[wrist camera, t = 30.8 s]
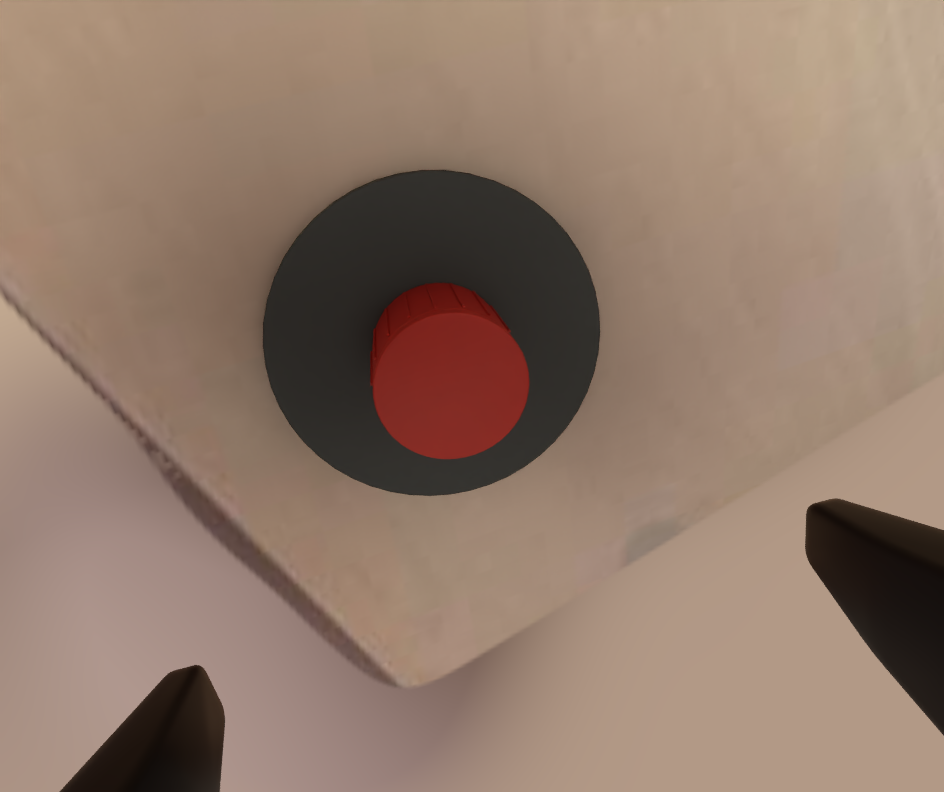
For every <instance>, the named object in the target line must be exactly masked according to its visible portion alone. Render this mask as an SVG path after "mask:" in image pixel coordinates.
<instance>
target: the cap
mask: <svg viewBox="0 0 944 792" xmlns="http://www.w3.org/2000/svg"><path fill="white" fill-rule="evenodd" d="M510 332H511V331H510V329H509V328H508V327H507V325H506V324H505V323H504V321H503V320H502V319H501V317H500V316H499V315H498V313H497V312H496V311H495V309H494V308H493V307H492V305H490V306H489V305H488V304H487V303H486V302H485V300H484V299H482V298H481V297H480V296H479V295H477V294H476V292H475V291H473V290H472V291H471V290H469V289H466V288H464V287H462V286H458V285H454V284H452V283H450V284H449V283H430V284H428V283H427V284H425V285H421V286H417V287H415V288H412V289H410V290H408V291H406V292H403V293H402V294H401V295H400V296H399V297H397V298H396V299H395V300H394V301H393V302H392V303H391V304H390V305H389V306H388V307H387V308H385V309H384V312H383V314H382V315H381V317H380V319H379V321H378V323H377V326H376V328H374V330H373V344H372V351H371V352H370V386H373V399H374V404H375V408H376V411H377V414H378V416H379V418H380V420H381V422H382V424H383V425H384V427H385V428H386V430H387V431H388V432H389V433H390V435H391V436H392V437H393V438H394V439H395V440H397V441H398V442H399V443H400V444H401V445H403V446H405V447H406V448H408V449H409V450H411V451H413V452H416V453H418V454H421V455H424V456H427V457H431V458H437V459H458V458H464V457H468V456H472V455H475V454H478V453H480V452H483V451H485V450H487V449H488V448H490V447H492V446H494V445H495V444H496V443H498V442H499V441H501V440H502V439H503V438H504V437H505V436H506V435H507V434H508V433H509V432H510V431H511V430H512V428H513V427H514V426H515V424H516V423H517V421H518V420H519V418H520V416H521V414H522V412H523V410H524V407H525V405H526V402H527V397H528V392H529V372H528V367H527V363H526V360H525V357H524V355H523V352H522V350H521V349H520V347H519V345H518V344H517V343H516V341H515V340H514V338H513V337H512V336H511V334H510Z"/></svg>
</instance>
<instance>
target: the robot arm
mask: <svg viewBox="0 0 944 792" xmlns="http://www.w3.org/2000/svg"><path fill="white" fill-rule="evenodd" d="M805 543H806V544H805V549H806V555H807V558H808V561H809V563H810V564H811V566H812V568H813V569H814V570H815V572H816V573H817V575H818V576H819V578H820V579H821V580H822V582H823V583H824V585H825V586H826V587H827V589H828V590H829V592H830V593H831V594H832V596H833V597H834V599H835V600H836V602H837V603H838V605H839V606H840V607H841V609H842V610H843V612H844V613H845V614H846V616H847V617H848V619H849V620H850V622H851V623H852V624H853V626H854V627H855V629H856V630H857V631H858V633H859V634H860V636H861V637H862V639H863V640H864V641H865V643H866V644H867V645H868V646H869V648H870V649H871V651H872V652H873V653H874V654H875V656H876V657H877V658H878V659H879V660H880V662H881V663H882V664H883V665H884V667H885V668H886V669H887V670H888V671H889V672H890V674H891V675H892V676H893V677H894V678H895V679H896V680H897V682H898V683H899V684H900V685H901V686H902V688H903V689H904V690H905V691H906V692H907V693H908V694H909V696H910V697H911V698H912V699H913V700H914V701H915V703H916V704H917V705H918V706H919V707H920V708H921V710H922V711H923V712H924V713H925V714H926V715H927V717H928V718H929V719H930V720H931V721H932V722H933V724H934V725H935V726H936V727H937V728H938V729H939V730H940V732H941V733H942V734H943V735H944V530H941V529H937V528H934V527H930V526H928V525H924V524H921V523H918V522H914V521H911V520H907V519H904V518H901V517H898V516H894V515H891V514H888V513H884V512H881V511H878V510H874V509H871V508H868V507H864V506H861V505H858V504H854V503H851V502H848V501H845V500H841V499H829V500H826V501H822V502H818V503H814V504H812V505H811V506H809V507H808V509H807V514H806V541H805ZM224 727H225V716H224V709H223V706H222V703H221V701H220V699H219V697H218V696H217V693H216V691H215V689H214V687H213V685H212V683H211V681H210V679H209V677H208V675H207V673H206V671H205V670H204V668H203V667H201V666H199V665H194V666H190V667H187V668H182V669H178V670H175V671H172V672H170V673H169V674H168V675H166V676H165V677H164V678H163V679H162V680H161V682H160V683H159V684H158V685H157V686H156V687H155V688H154V689H153V690H152V691H151V693H150V694H149V695H148V696H147V697H146V698H145V699H144V700H143V701H142V702H141V703H140V705H139V706H138V707H137V708H136V709H135V710H134V711H133V712H132V713H131V714H130V715H129V717H128V718H127V719H126V720H125V721H124V722H123V723H122V724H121V725H120V726H119V728H118V729H117V730H116V731H115V732H114V733H113V734H112V735H111V736H110V737H109V738H108V739H107V741H106V742H105V743H104V744H103V745H102V746H101V747H100V748H99V749H98V751H96V753H95V754H94V755H93V756H92V757H91V758H90V759H89V760H88V761H87V762H86V764H85V765H84V766H83V767H82V768H81V769H80V770H79V771H78V772H77V773H76V774H75V775H74V777H73V778H72V779H71V780H70V781H69V782H68V783H67V784H66V785H65V787H63V789H62V790H61V791H60V792H220V780H221V766H222V754H223V741H224Z"/></svg>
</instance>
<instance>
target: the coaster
mask: <svg viewBox="0 0 944 792" xmlns="http://www.w3.org/2000/svg"><path fill="white" fill-rule="evenodd" d="M427 283H428V284H430V283H449V284H450V283H452V284H454V285H458V286H462V287H464V288H466V289H469V290H471V291H472V290H473V291H475V292H476V294H477V295H479V296H480V297H481V298H482V299H484V300H485V302H486V303H487V304H488V305H489V306H490V305H492V307H493V308H494V309H495V311H496V312H497V313H498V315H499V316H500V317H501V319H502V320H503V321H504V323H505V324H506V325H507V327H508V328H509V329H510V331H511V332H510V334H511V336H512V337H513V338H514V340H515V341H516V343H517V344H518V345H519V347H520V349H521V350H522V352H523V355H524V357H525V360H526V363H527V367H528V372H529V392H528V397H527V402H526V405H525V407H524V410H523V412H522V414H521V416H520V418H519V420H518V421H517V423H516V424H515V426H514V427H513V428H512V430H511V431H510V432H509V433H508V434H507V435H506V436H505V437H504V438H503V439H502V440H501V441H499V442H498V443H496V444H495V445H494V446H492V447H490V448H488V449H487V450H485V451H483V452H480V453H478V454H475V455H472V456H468V457H464V458H458V459H437V458H431V457H427V456H424V455H421V454H418V453H416V452H413V451H411V450H409V449H408V448H406V447H405V446H403V445H401V444H400V443H399V442H398V441H397V440H395V439H394V438H393V437H392V436H391V435H390V433H389V432H388V431H387V430H386V428H385V427H384V425H383V424H382V422H381V420H380V418H379V416H378V414H377V411H376V408H375V404H374V399H373V386H370V352H371V351H372V344H373V330H374V328H376V326H377V323H378V321H379V319H380V317H381V315H382V314H383V312H384V309H385V308H387V307H388V306H389V305H390V304H391V303H392V302H393V301H394V300H395V299H396V298H397V297H399V296H400V295H401V294H402V293H403V292H406V291H408V290H410V289H412V288H415V287H417V286H421V285H425V284H427ZM599 339H600V321H599V309H598V303H597V298H596V292H595V289H594V286H593V282H592V279H591V276H590V273H589V270H588V268H587V266H586V264H585V262H584V260H583V258H582V256H581V254H580V252H579V250H578V249H577V247H576V246H575V244H574V243H573V241H572V240H571V238H570V237H569V235H568V234H567V233H566V232H565V231H564V229H563V228H562V227H561V226H560V225H559V224H558V223H557V222H556V220H555V219H554V218H553V217H552V216H551V215H549V214H548V213H547V212H546V211H545V210H543V209H542V208H541V207H540V206H539V205H538V204H536V203H535V202H534V201H532V200H530V199H529V198H527V197H526V196H524V195H522V194H521V193H519V192H518V191H516V190H514V189H512V188H509V187H507V186H505V185H503V184H501V183H498V182H496V181H494V180H490V179H487V178H483V177H480V176H476V175H473V174H469V173H462V172H455V171H448V170H419V171H412V172H405V173H398V174H395V175H391V176H388V177H384V178H381V179H377V180H374V181H372V182H370V183H367V184H365V185H363V186H361V187H358V188H356V189H354V190H352V191H350V192H349V193H347V194H346V195H344V196H342V197H341V198H339V199H338V200H336V201H334V202H333V203H332V204H330V205H329V206H328V207H327V208H326V209H324V210H323V211H322V212H321V213H320V214H318V215H317V216H316V217H315V218H314V219H313V220H312V221H311V222H310V223H309V225H308V226H307V227H306V228H305V229H304V230H303V231H302V232H301V233H300V235H299V236H298V237H297V238H296V240H295V241H294V243H293V244H292V246H291V247H290V249H289V250H288V252H287V253H286V255H285V256H284V258H283V260H282V262H281V264H280V266H279V269H278V271H277V273H276V275H275V277H274V279H273V283H272V286H271V289H270V292H269V295H268V299H267V303H266V309H265V316H264V322H263V349H264V357H265V365H266V370H267V373H268V377H269V381H270V385H271V388H272V390H273V393H274V395H275V397H276V400H277V402H278V404H279V407H280V409H281V410H282V412H283V414H284V415H285V417H286V419H287V420H288V422H289V424H290V425H291V427H292V428H293V429H294V430H295V432H296V433H297V434H298V435H299V437H300V438H301V439H302V440H303V442H304V443H305V444H306V445H307V446H308V447H310V448H311V449H312V450H313V451H314V452H315V453H316V454H317V455H318V456H319V457H320V458H322V459H323V460H324V461H326V462H327V463H328V464H330V465H331V466H332V467H334V468H335V469H337V470H339V471H340V472H342V473H344V474H346V475H347V476H349V477H351V478H353V479H355V480H357V481H360V482H362V483H365V484H367V485H369V486H372V487H376V488H379V489H383V490H386V491H390V492H395V493H402V494H408V495H424V496H434V495H448V494H455V493H460V492H465V491H470V490H474V489H477V488H480V487H483V486H487V485H490V484H492V483H494V482H496V481H499V480H501V479H503V478H506V477H508V476H509V475H511V474H513V473H515V472H516V471H518V470H520V469H522V468H523V467H525V466H526V465H528V464H529V463H530V462H532V461H533V460H534V459H536V458H537V457H538V456H540V455H541V454H542V453H543V452H544V451H545V450H546V449H547V448H548V447H549V446H550V445H551V444H553V443H554V442H555V441H556V439H557V438H558V437H559V436H560V435H561V433H562V432H563V431H564V430H565V429H566V427H567V426H568V425H569V423H570V422H571V420H572V419H573V417H574V416H575V414H576V413H577V411H578V409H579V407H580V405H581V403H582V401H583V399H584V397H585V395H586V393H587V391H588V388H589V386H590V383H591V380H592V377H593V374H594V370H595V366H596V361H597V356H598V350H599Z"/></svg>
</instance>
